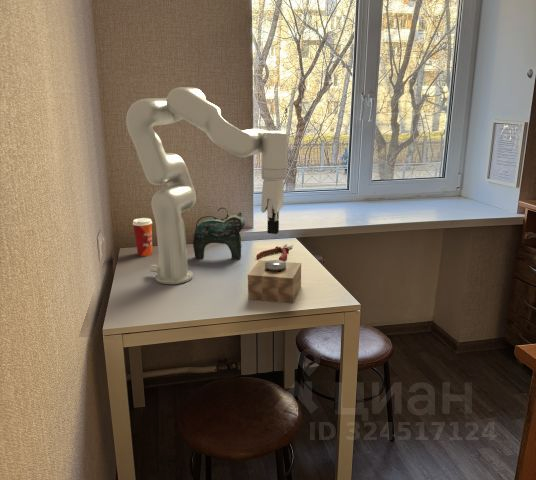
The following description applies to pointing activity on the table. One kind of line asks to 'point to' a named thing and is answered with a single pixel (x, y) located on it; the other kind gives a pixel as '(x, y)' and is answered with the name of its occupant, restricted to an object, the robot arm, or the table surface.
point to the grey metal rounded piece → (275, 265)
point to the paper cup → (143, 236)
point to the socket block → (274, 283)
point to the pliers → (277, 249)
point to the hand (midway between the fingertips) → (273, 232)
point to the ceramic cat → (219, 234)
